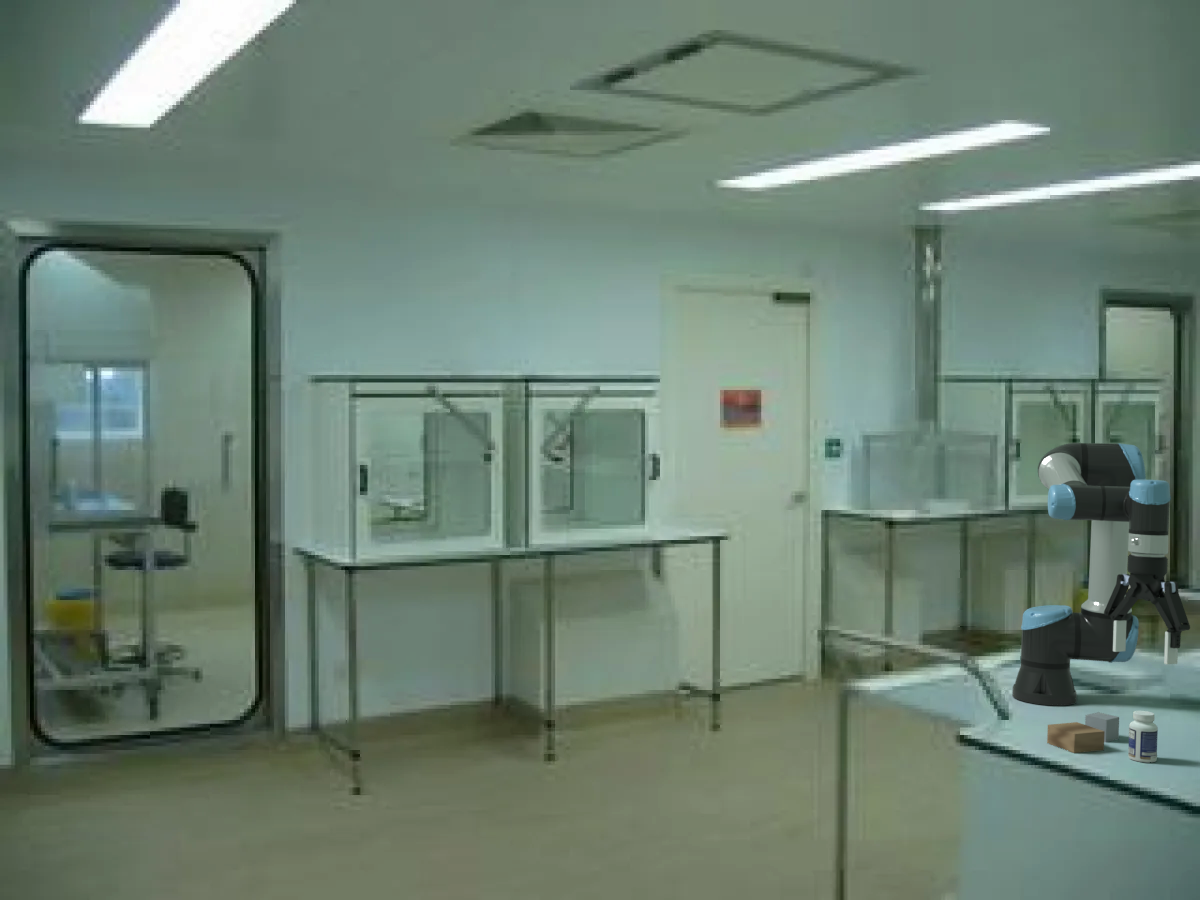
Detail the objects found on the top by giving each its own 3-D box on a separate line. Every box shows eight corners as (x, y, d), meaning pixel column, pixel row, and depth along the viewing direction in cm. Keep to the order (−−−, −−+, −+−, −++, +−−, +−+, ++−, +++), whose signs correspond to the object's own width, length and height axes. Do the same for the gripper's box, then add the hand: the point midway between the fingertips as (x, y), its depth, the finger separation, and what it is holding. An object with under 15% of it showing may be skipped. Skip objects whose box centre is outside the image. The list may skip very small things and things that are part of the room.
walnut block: (1047, 743, 260) (1047, 724, 260) (1076, 740, 263) (1077, 722, 262) (1074, 753, 252) (1074, 734, 252) (1103, 750, 255) (1104, 731, 255)
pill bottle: (1160, 759, 249) (1161, 712, 248) (1151, 764, 245) (1153, 717, 244) (1133, 754, 252) (1134, 708, 252) (1124, 759, 248) (1125, 712, 248)
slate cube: (1084, 737, 266) (1085, 715, 265) (1097, 734, 269) (1098, 712, 268) (1105, 742, 262) (1106, 719, 261) (1118, 739, 264) (1119, 716, 264)
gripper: (1088, 548, 257) (1085, 647, 258) (1183, 562, 234) (1179, 670, 235) (1115, 547, 260) (1112, 645, 261) (1211, 561, 237) (1208, 668, 237)
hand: (1144, 657), depth 248 cm, fingers open, 13 cm apart
